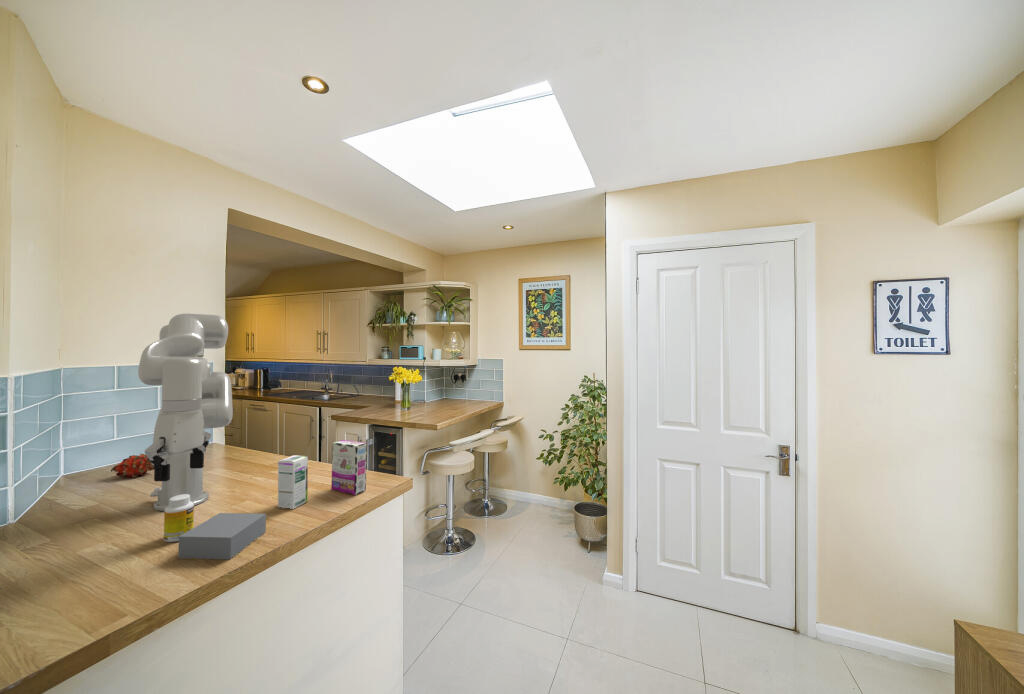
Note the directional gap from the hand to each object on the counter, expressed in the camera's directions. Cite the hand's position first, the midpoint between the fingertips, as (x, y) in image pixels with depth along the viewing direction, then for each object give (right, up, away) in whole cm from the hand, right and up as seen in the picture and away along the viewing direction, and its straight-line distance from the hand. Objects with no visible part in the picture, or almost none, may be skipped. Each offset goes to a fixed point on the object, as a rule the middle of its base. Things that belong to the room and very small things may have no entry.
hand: (180, 474), depth 93 cm
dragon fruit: (-54, -15, +41) cm, 70 cm away
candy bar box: (+28, -17, +33) cm, 46 cm away
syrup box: (+16, -17, +21) cm, 31 cm away
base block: (+13, -17, -2) cm, 21 cm away
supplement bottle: (-1, -16, 0) cm, 16 cm away
